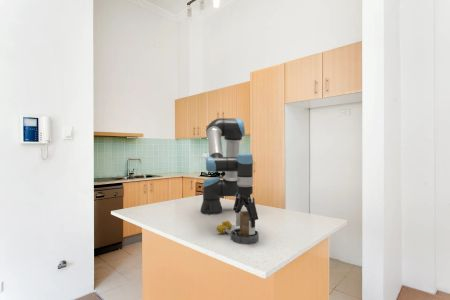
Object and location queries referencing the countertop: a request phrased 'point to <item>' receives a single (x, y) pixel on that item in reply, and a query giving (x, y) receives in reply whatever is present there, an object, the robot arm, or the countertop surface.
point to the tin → (244, 240)
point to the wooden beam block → (244, 224)
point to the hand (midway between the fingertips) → (244, 229)
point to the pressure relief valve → (225, 227)
